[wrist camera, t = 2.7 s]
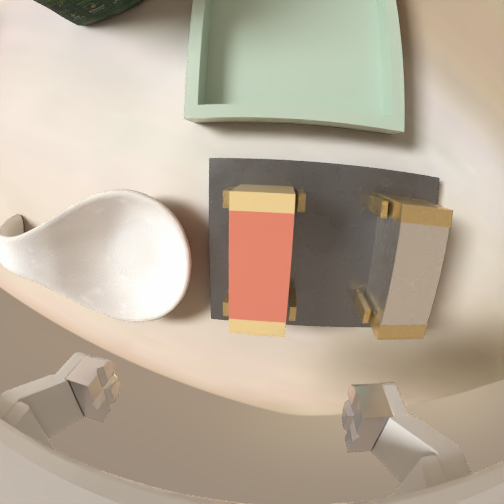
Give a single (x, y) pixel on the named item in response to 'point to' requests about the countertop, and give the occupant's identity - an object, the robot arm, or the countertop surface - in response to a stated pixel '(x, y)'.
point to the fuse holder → (343, 243)
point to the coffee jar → (87, 9)
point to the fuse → (260, 258)
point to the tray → (296, 63)
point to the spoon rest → (106, 255)
